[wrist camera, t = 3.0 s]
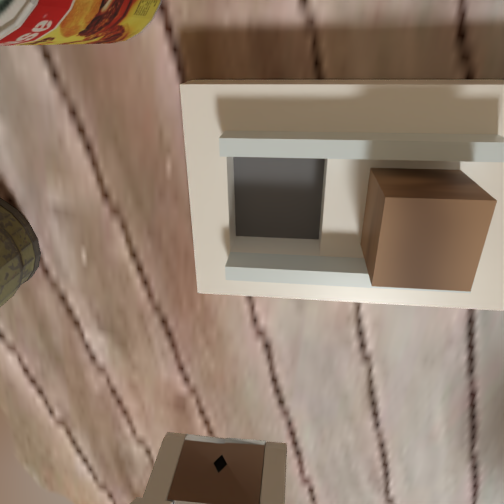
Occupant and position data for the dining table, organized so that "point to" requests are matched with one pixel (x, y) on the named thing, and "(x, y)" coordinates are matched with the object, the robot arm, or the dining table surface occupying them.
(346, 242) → the channel
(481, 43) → the dining table surface
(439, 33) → the dining table surface
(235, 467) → the robot arm
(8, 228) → the thermos
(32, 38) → the canned food
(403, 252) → the walnut block
